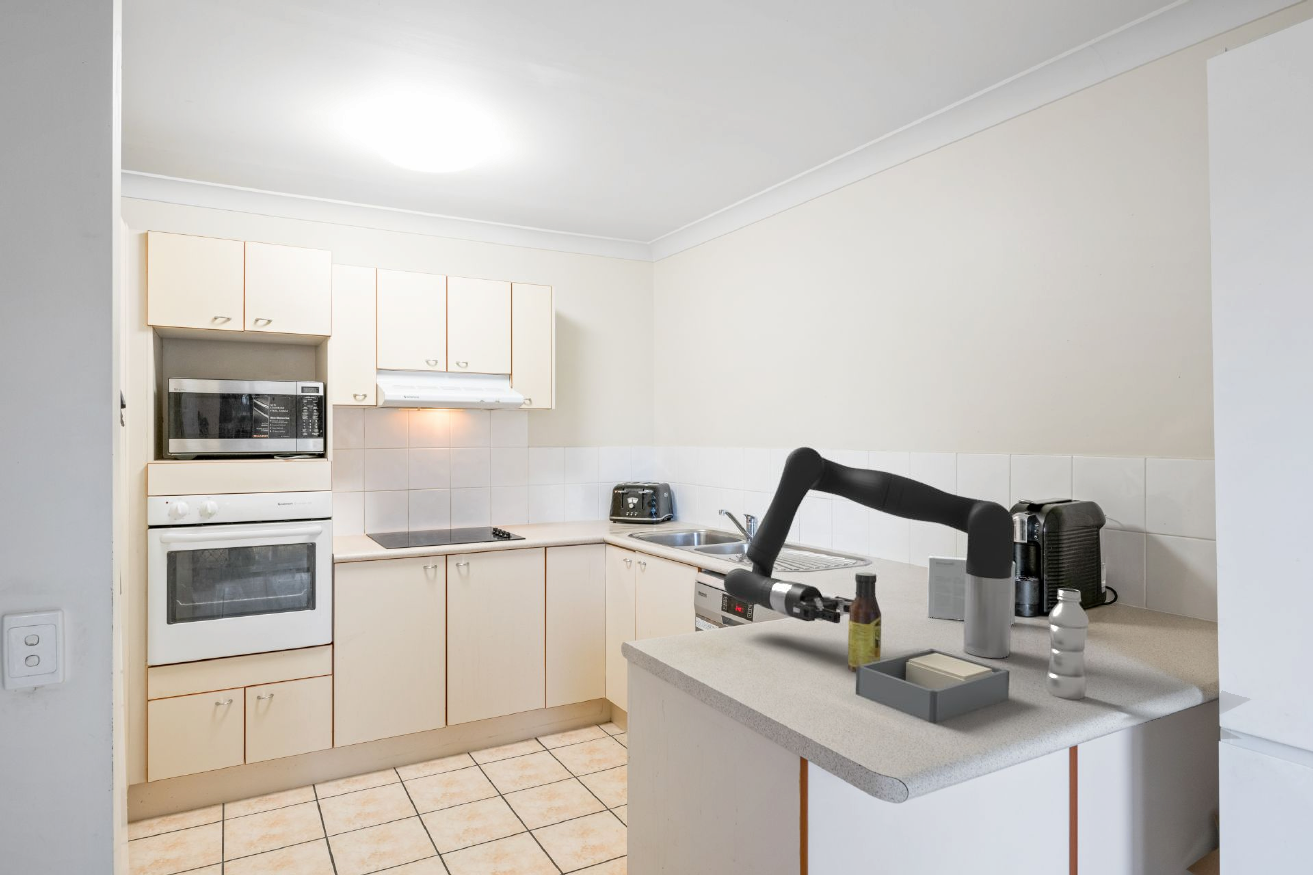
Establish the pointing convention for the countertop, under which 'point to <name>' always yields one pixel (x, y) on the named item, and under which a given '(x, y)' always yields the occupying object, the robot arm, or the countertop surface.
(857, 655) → the sauce bottle
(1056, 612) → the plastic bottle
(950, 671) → the cream rectangular box
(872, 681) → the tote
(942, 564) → the skincare box
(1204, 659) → the countertop surface
